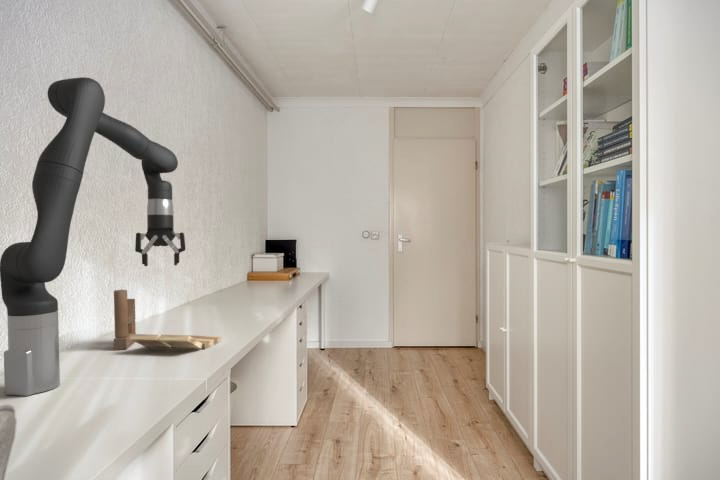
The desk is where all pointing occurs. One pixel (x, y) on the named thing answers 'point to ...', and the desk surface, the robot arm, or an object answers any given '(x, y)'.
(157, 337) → the plank
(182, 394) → the desk surface
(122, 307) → the wooden block
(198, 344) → the plank
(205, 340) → the laid floor
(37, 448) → the desk surface
